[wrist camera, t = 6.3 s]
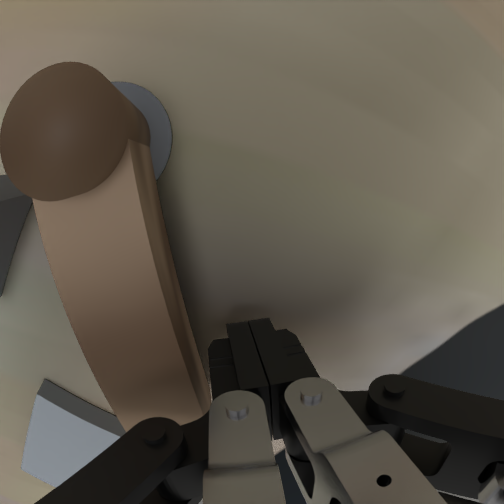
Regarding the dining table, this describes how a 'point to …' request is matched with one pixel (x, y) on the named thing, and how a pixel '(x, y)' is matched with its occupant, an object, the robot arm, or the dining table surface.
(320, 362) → the dining table surface
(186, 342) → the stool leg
